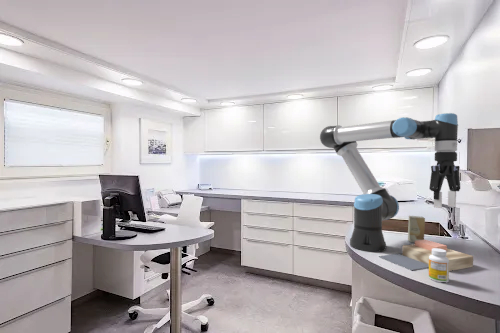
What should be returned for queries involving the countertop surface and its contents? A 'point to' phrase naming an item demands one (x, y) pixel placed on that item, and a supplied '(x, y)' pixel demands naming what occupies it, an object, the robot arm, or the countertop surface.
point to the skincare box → (416, 228)
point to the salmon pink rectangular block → (430, 245)
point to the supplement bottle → (439, 265)
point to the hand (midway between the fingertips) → (444, 207)
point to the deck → (455, 257)
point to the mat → (405, 261)
